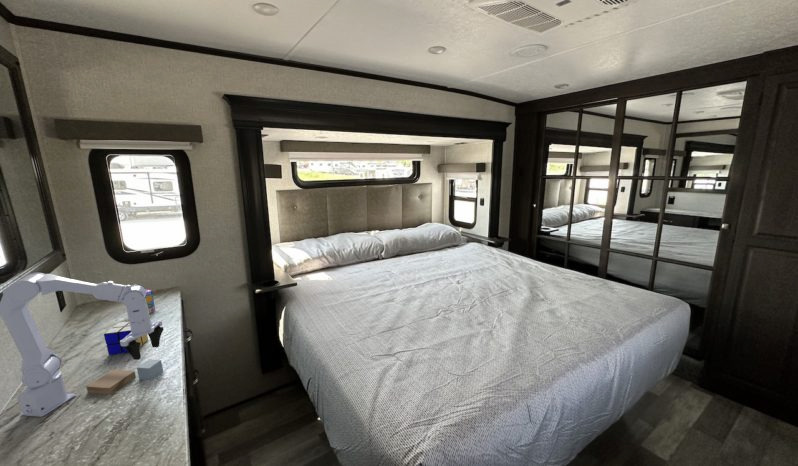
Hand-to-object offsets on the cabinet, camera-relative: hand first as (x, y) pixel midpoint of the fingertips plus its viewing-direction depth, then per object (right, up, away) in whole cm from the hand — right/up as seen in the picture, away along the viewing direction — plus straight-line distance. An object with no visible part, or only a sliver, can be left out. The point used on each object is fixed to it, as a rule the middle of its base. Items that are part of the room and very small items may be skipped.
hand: (146, 352), depth 113 cm
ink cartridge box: (-44, 0, +51) cm, 68 cm away
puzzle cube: (-25, -6, +21) cm, 33 cm away
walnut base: (-10, -11, -3) cm, 15 cm away
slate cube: (0, -9, +2) cm, 10 cm away
